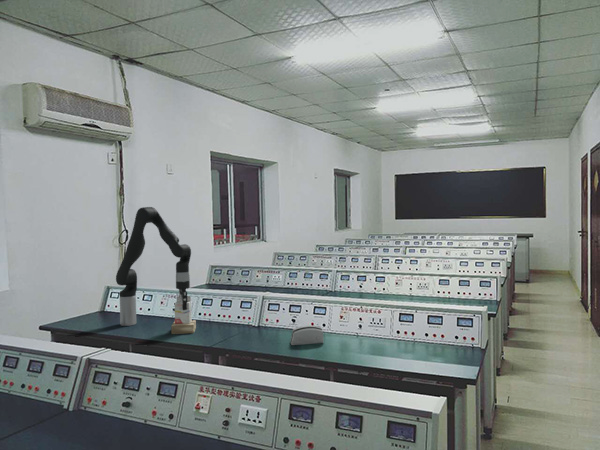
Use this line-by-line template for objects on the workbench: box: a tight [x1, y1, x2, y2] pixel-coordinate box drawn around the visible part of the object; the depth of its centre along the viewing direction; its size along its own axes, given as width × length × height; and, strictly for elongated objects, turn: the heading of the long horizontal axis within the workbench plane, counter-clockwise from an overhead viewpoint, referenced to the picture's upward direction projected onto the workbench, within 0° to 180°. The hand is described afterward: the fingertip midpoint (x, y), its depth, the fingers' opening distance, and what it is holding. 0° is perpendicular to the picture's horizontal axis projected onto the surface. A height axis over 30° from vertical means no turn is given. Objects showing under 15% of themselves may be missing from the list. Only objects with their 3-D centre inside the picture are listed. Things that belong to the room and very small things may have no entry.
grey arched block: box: [289, 325, 325, 346], centre depth 242 cm, size 17×5×10 cm, turn 102°
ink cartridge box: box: [174, 295, 193, 324], centre depth 274 cm, size 9×5×15 cm, turn 89°
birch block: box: [170, 319, 197, 335], centre depth 274 cm, size 12×12×5 cm
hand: (183, 308), depth 274 cm, fingers open, 8 cm apart
